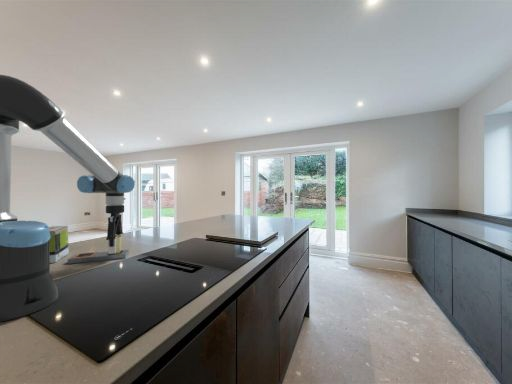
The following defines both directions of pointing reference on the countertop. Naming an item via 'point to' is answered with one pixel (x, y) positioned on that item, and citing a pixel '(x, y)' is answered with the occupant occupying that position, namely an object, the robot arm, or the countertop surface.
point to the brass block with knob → (117, 245)
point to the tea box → (58, 242)
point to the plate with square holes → (96, 256)
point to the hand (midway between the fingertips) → (115, 250)
